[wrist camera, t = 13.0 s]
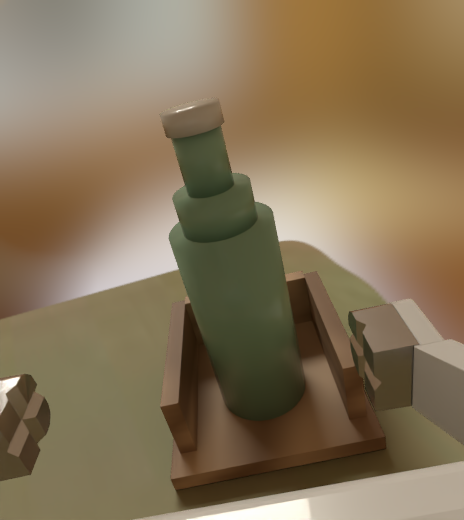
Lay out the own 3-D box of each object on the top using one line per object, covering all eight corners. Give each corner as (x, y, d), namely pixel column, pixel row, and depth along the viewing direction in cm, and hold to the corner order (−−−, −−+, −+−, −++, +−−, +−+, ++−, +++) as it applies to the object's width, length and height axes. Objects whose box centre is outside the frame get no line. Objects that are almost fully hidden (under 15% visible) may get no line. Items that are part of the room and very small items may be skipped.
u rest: (175, 490, 24) (148, 431, 22) (184, 350, 34) (166, 300, 32) (386, 448, 23) (381, 383, 21) (328, 319, 34) (321, 266, 31)
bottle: (224, 429, 26) (120, 134, 17) (220, 365, 30) (137, 111, 22) (315, 409, 25) (256, 100, 17) (295, 347, 30) (243, 84, 22)
